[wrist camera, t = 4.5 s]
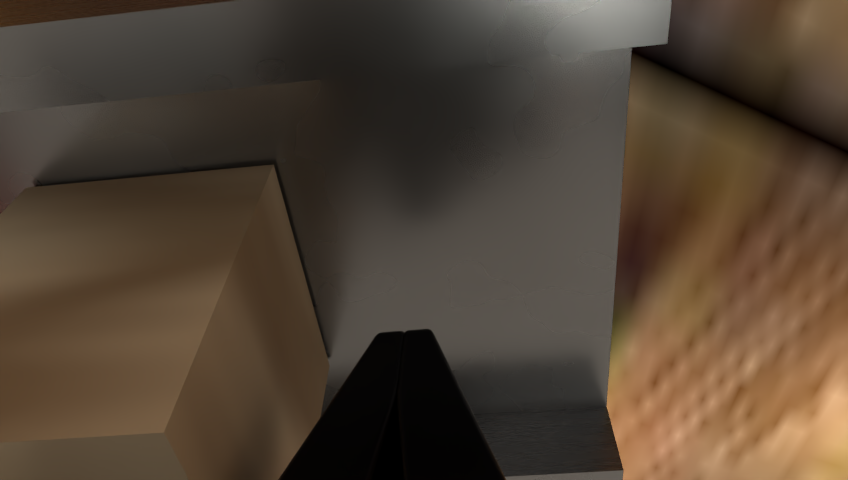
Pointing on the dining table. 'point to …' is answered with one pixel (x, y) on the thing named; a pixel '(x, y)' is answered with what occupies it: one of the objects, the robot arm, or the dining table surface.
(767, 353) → the dining table surface
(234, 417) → the block
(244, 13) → the grey open tray
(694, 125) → the dining table surface
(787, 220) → the dining table surface
